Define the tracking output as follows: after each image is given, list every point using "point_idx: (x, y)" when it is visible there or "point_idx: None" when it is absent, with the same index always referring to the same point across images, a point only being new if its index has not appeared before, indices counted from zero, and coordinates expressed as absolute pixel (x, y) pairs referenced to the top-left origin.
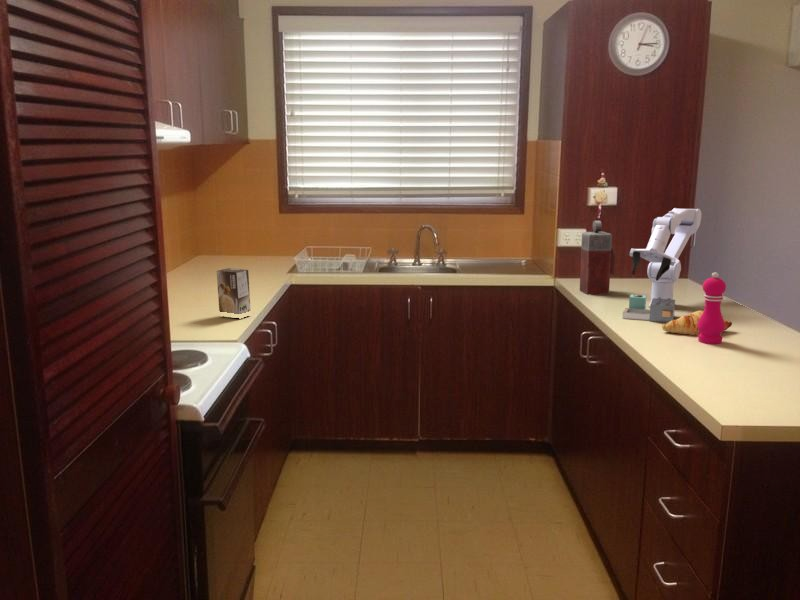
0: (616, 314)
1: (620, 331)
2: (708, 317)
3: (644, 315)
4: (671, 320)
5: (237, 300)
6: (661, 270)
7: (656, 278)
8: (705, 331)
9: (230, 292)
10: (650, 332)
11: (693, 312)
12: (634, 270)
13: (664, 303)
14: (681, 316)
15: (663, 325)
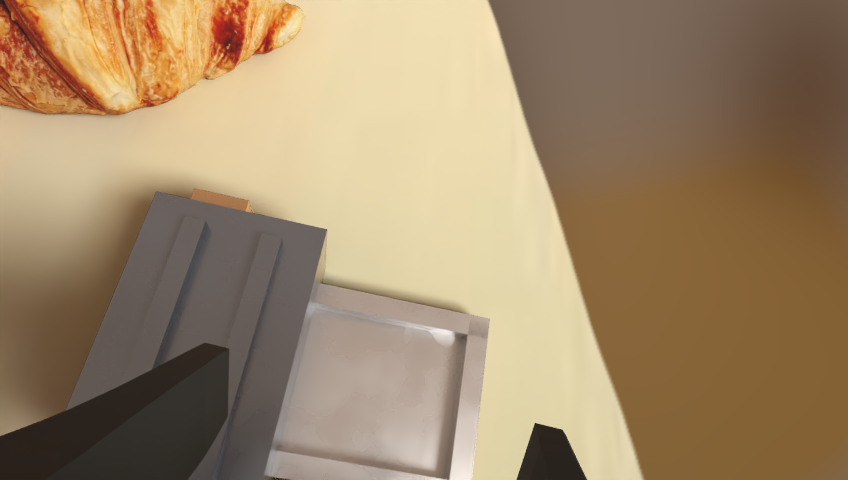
0: (514, 445)
1: (488, 51)
2: None
3: (353, 291)
4: (249, 5)
5: None
6: (112, 390)
7: (222, 382)
8: None
9: None
10: (357, 39)
11: (84, 8)
12: (542, 431)
13: (204, 281)
14: (181, 2)
15: (298, 7)
